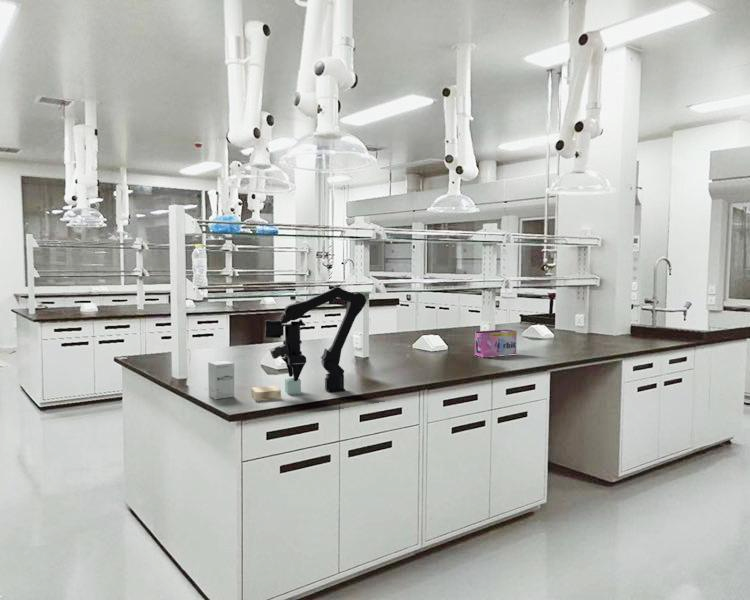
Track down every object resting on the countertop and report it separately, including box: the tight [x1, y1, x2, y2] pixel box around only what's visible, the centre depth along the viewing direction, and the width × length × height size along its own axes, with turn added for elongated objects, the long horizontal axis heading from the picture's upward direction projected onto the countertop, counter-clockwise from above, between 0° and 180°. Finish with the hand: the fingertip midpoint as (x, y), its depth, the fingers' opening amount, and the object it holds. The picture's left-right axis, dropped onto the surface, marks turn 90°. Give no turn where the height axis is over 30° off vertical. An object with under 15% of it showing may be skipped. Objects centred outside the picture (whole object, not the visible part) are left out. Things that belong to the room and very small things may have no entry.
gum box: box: [474, 329, 517, 357], centre depth 298 cm, size 24×8×14 cm, turn 117°
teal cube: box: [284, 377, 302, 395], centre depth 209 cm, size 5×5×5 cm
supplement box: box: [207, 360, 235, 400], centre depth 202 cm, size 7×7×13 cm
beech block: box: [250, 385, 282, 402], centre depth 201 cm, size 9×9×4 cm
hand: (293, 378), depth 209 cm, fingers open, 9 cm apart
